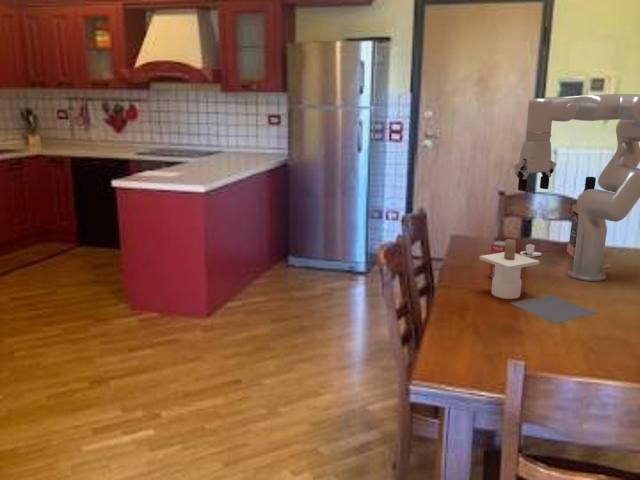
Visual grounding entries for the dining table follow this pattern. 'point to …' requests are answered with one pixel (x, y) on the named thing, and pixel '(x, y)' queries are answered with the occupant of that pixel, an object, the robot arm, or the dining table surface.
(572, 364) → the dining table surface
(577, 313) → the mat
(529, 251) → the teacup and saucer
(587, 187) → the whiskey bottle
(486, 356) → the dining table surface
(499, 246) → the soda can
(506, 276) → the cylinder with rectangular tab
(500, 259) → the lid
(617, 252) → the dining table surface
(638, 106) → the robot arm
